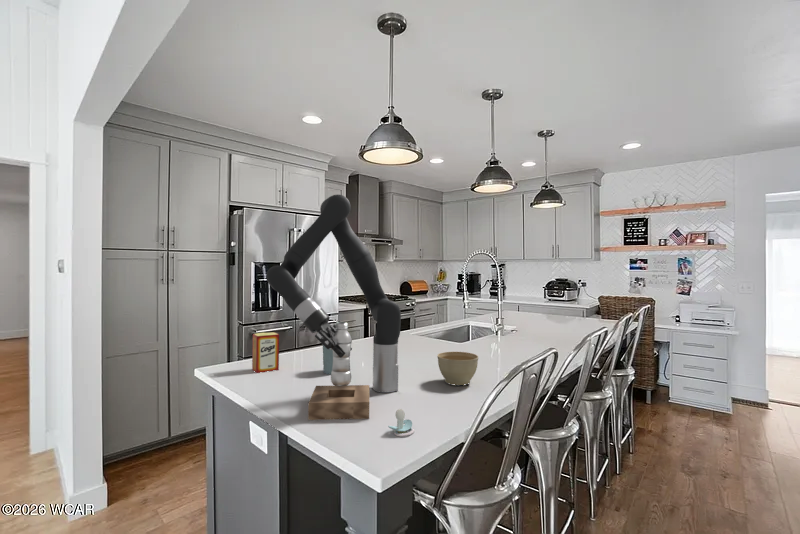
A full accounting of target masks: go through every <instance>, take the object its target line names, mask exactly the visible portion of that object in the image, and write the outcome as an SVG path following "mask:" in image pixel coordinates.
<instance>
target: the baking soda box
mask: <svg viewBox="0 0 800 534" xmlns="http://www.w3.org/2000/svg"><path fill="white" fill-rule="evenodd" d="M251 358H252V362H251V365H252V366H251V367H252V369H251V370H252V371H253V372H254V371H255V372H256V373H255V372H254V373H255V374H260V372H262V373H268V372H267V371H269V372H274V371H273V370H276V371H279V370H280V369H279V368H280V365H279V364H280V363H279V362H280V334H279V333H277V332H275V331H274V332H258V333H252V357H251Z"/></svg>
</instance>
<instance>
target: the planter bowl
mask: <svg viewBox="0 0 800 534" xmlns="http://www.w3.org/2000/svg"><path fill="white" fill-rule="evenodd" d="M478 361H479V355H477V354H476V353H471V352H468V351H467V352H465V351H444V352H443V351H442V352H440V353H438V354H437V363H438V368H439V371H440V374H441V375H442V377H443V378H444V380H445V383H446V382H447V383H450V384H455V385H454V386H456V385H463V386H465V385H464V384H468V383H469V384H470V383H471V380H472V378H473V377H474V376H475V373H476V371H477V368H478ZM447 383H446V384H447ZM450 384H449V385H450ZM469 384H468V385H469Z"/></svg>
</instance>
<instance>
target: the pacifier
mask: <svg viewBox="0 0 800 534" xmlns="http://www.w3.org/2000/svg"><path fill="white" fill-rule="evenodd" d="M405 416H406V415H405V411H404V409H403V408H398V409H397V410H396V411H395V418H396V426H394V425H388V428H389V429H391V430H393V431H394V435H395V436H396V437H407V436H408V437H409V436H412V435H413V434H414V433H415V432H416V431H415V429H414V428H413V421H412V420H410V419H405ZM410 430H411V431H410ZM402 433H403V434H402Z"/></svg>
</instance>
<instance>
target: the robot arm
mask: <svg viewBox="0 0 800 534" xmlns="http://www.w3.org/2000/svg"><path fill="white" fill-rule="evenodd" d="M351 209H352V206H351V203H350V200H349V199H348V198H347V196H345V195H343V194H333V195H330V196H329V197H327V198H326V199H325V200H323V201H322V203H321V205H320V213H319V216H318V217H317V218H316V219H315V220H314V222H313V223H312V224H311V225H310V226H309V227H308V228H307V229H306V230H305V231H304V232H303V233H302V234H301V235H300V236H299V237H298V238H297V240H295V242H293V244H292V245H291V246H290V248H289V249H288V250H287V251H286V252H285V254H284V255H283V261H282V263H281V264H280V265H273V266H272V267H269V268H268V270H267V271H266V275H265V276H266V281H267V283H268V284H269V285H270V287H271V289H273V290H274V291H275V292H277V294H279V296H281V298H282V299H283V300H284V302H285V303H286V305H287V306H288V307H289V308H290V309H291V310H292V311H293V313H294V314H295V315H296V316H297V318H298V319H299V320H300V322H301V323H302V324H303V325H304V326H305V327H306V329H308V330H309V331H310V333H312V334H315V333H316V334H315V335H314V337H315V339H317V340H318V342H320V344H321V345H322V346H323V345H324V346H325V347H326V348H327V349H329V348H330V349H331V350H332V349H333V351H334V352H335V353H336V354H337V355H338V356H339V357H340V358H342V357H343V356H344V355H345V351H344V350H343V349H342V348H341V347H340V346H339V345H337V342H336V341H335V336H334V333H335V332H336V331H337V329H336V323H335V324H333V325H331V324H330V323H329V320H330V319H331V318H330V315H328V313H327V312H326V311H325V310H324V309H323V308H322V307H321V305H319V303H318V302H317V301H315V300H314V299H313V298H312V297H311V296H310V295H309V294H308V293H307V291H305V289H303V288H302V287H301V286H300V284H299V283H298V282H297V281H296V278H297V276H298V274H299V272H300V271H301V269H302V268H303V267H304V265H305V264H306V263H307V262H308V261H309V259H310V258H311V257H312V255H313V254H314V253H315V251H316V250H317V249H318V248H319V246H320V245H321V244H322V242H323V241H324V240H325V239H326V237H328V236H329V234H330V233H331V234H332V235H333V236H334V239H335V240H336V242H337V245H338V247H339V249H340V251H341V253H342V255H343V257H344V260H345V262H346V264H347V266H348V269H349V270H350V272H351V274H352V276H353V277H354V280H355V281H356V283H357V284H358V286H359V289H360V290H361V291H362V294H363V296H364V298H365V300H366V303H367V306H368V308H369V311H370V314H371V316H372V318H373V319H374V320H375V321H376V329H375V330H376V332H375V333H374V335H373V337H372V339H373V344H372V345H373V347H372V349H373V352H372V353H373V354H372V359H373V361H372V389H373V391H375V392H376V393H377V392H378V393H392V392H399V337H400V336H401V323H402V322H401V319H402V318H401V317H402V313H401V308H400V305H399V304H398V303H396V302H395V301H393V300H389V298H388V296H387V295H386V293H385V291H384V290H383V288H382V285H381V281H380V279H379V274H378V273H379V272H378V269H377V264H376V262H375V260H374V259H373V256H372V255H371V252H370V251H369V248H368V247H367V245H365V243H364V242H363V241H362V239H361V238H359V236H358V235H357V234H356V233H355V231H354V230H353V229H352V227H351V225H350V222H349V220H348V218H347V217H349V214H350V213H351ZM352 349H353V348H352V347H351V350H350V352H351V351H353V350H352Z"/></svg>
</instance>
